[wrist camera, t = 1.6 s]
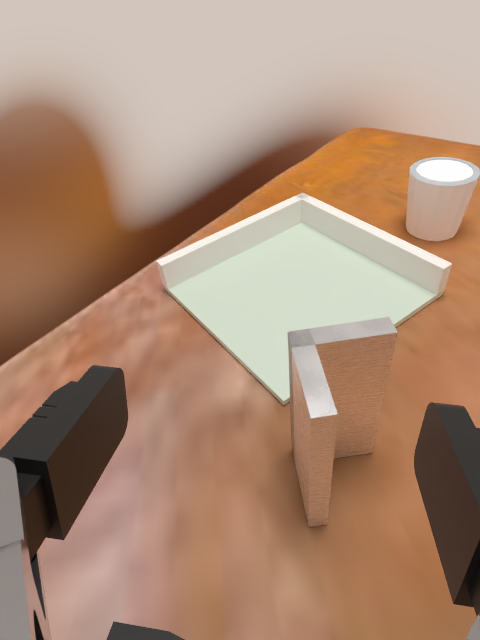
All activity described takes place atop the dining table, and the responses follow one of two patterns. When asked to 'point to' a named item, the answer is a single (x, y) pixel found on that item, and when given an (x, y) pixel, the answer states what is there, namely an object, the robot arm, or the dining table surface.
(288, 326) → the arena
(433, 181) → the white cup
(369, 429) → the bracket
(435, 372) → the dining table surface
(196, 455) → the dining table surface
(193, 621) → the dining table surface
